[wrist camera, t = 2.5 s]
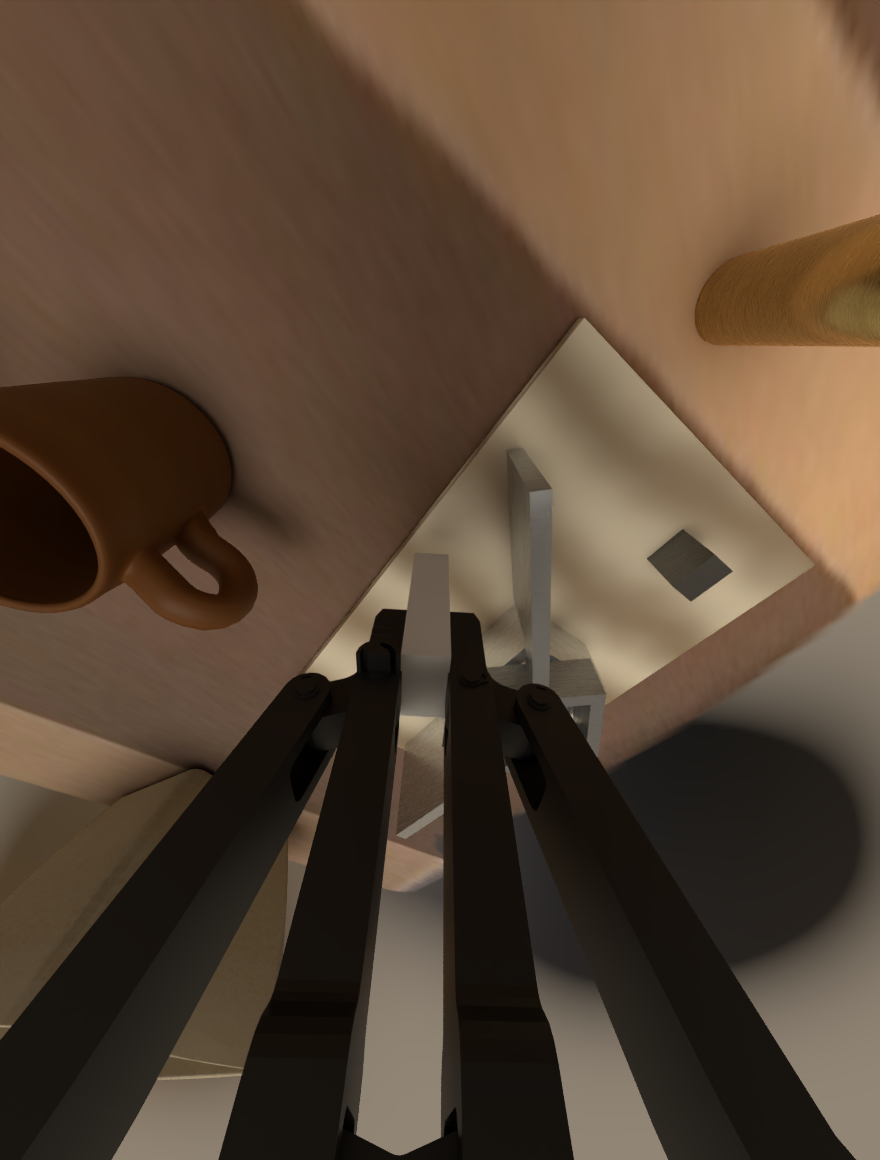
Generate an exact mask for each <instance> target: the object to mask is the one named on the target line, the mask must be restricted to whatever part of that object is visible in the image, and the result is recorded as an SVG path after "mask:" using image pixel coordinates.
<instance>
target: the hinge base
mask: <svg viewBox="0 0 880 1160" xmlns="http://www.w3.org/2000/svg"><path fill="white" fill-rule="evenodd" d="M647 560H648V561H649V562H650V563H651V564H652V565H653V566H654V567H655V568H656V569H657V570H658V571H659V573H660V574H661V575H662V576H663V577H664V578H665V579H666V580H667V581H668V582H669V583H670V584H671V585H672V587H674V588H675V589H676V590H677V591H678V592H680V593H681V594H682V595H683V596H684V597H686V598H687V599H688V600H689V601H690V602H692V601H693V600H694V599H696V598H697V597H698V596H700V595H701V594H703V593H704V592H705V591H707V590H708V589H709V588H711V587H712V586H714V585H715V584H716V583H718V582H719V581H720V580H722V579H723V578H725V577H726V576H727V575H729V574H730V573H731V572H733V571H732V570H731V569H730V568H729V567H728V566H727V565H726V564H725V563H724V562H723V561H722V560H720V559H719V558H718V557H717V556H716V555H715V554H714V553H713V552H711V551H710V550H709V549H708V548H706V547H705V546H704V545H702V544H701V543H700V542H699V541H697V540H696V539H695V538H694V537H692V536H691V535H690V534H688V533H687V532H686V531H685V530H683V529H682V530H681V531H680V532H678V533H677V534H676V535H675V536H673V537H672V538H671V539H670V540H669V541H667V542H666V543H665V544H664V545H663V546H661V547H660V548H659V549H658V550H657V551H655V552H654V553H653V554H652V555H651V556H649V557H648V558H647ZM482 640H483V646H484V653H485V660H486V667H498V666H508V665H519V664H522V663H523V662H524V661H525V640H524V637H523V633H522V629H521V625H520V621H519V617H518V614H517V610H516V606H515V604H514V605H513V606H512V607H511V608H510V609H509V610H508V611H507V612H506V613H505V614H503V615H502V616H501V617H500V618H499V619H498V620H497V621H496V622H495V623H494V624H493V625H492V626H491V627H490V628H489V629H487V630H486V631H485V632H484V633H483V634H482ZM585 658H590V659H591V662H592V664H593V666H594V668H595V670H596V673H597V675H598V677H599V679H600V681H601V684H602V686H603V688H604V690H605V691H607V690H606V688H605V685H604V683H603V681H602V679H601V677H600V675H599V672H598V670H597V668H596V666H595V664H594V662H593V659H592V657H591V655H590V653H589V651H588V649H587V646H586V645H585V644H584V643H583V642H581V641H580V640H578V639H577V638H575V637H574V636H572V635H571V634H569V633H568V632H566V631H565V630H563V629H562V628H560V627H559V626H557V625H556V624H554V623H553V622H551V621H550V662H552V661H563V660H574V659H585ZM573 707H574V706H570V707H566V709H567V710H568V712H569V713H570V715H572V714H573ZM444 724H445V718H440V717H436V718H435V719H434V720H433V721H432V722H431V723H429V724H428V725H427V726H426V727H425V728H424V729H422V730H421V731H420V732H419V733H418V734H417V735H415V736H414V737H413V738H412V739H411V740H410V741H408V742H407V743H406V744H405V752H404V762H403V771H402V781H401V791H400V801H399V810H398V820H397V830H396V836H399V837H402V838H405V839H406V838H408V837H409V836H411V835H412V834H414V833H415V832H417V831H418V830H420V829H421V828H423V827H424V826H426V825H427V824H429V823H430V822H432V821H433V820H435V819H436V818H438V817H439V816H441V815H442V814H444V747H442V742H443V733H444Z"/></svg>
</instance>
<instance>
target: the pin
mask: <svg viewBox="0 0 880 1160" xmlns="http://www.w3.org/2000/svg"><path fill="white" fill-rule="evenodd" d="M695 323H696V328H697V330H698V333H699V334H700V336H701V337H702V338H703V339H704V340H705V341H706V342H708V343H710V344H713V345H741V346H846V347H880V215H876V216H873V217H870V218H866V219H863V220H859V221H856V222H853V223H849V224H846V225H843V226H839V227H836V228H832V229H829V230H826V231H822V232H819V233H816V234H812V235H809V236H805V237H802V238H799V239H795V240H792V241H788V242H785V243H782V244H778V245H775V246H772V247H768V248H765V249H761V250H758V251H755V252H751V253H748V254H745V255H741V256H738V257H736V258H733V259H732V260H730V261H728V262H727V263H725V264H724V265H722V266H721V267H720V268H719V269H718V270H717V271H716V272H715V273H714V274H713V275H712V276H711V277H710V279H709V280H708V281H707V283H706V284H705V286H704V288H703V290H702V292H701V294H700V296H699V299H698V302H697V306H696V311H695Z"/></svg>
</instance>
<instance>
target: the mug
mask: <svg viewBox="0 0 880 1160" xmlns="http://www.w3.org/2000/svg"><path fill="white" fill-rule="evenodd" d="M231 479H232V474H231V465H230V460H229V456H228V453H227V450H226V448H225V445H224V443H223V441H222V439H221V437H220V436H219V434H218V432H217V431H216V429H215V428H214V426H213V425H212V424H211V422H210V421H209V420H208V419H207V418H206V417H205V415H204V414H203V413H202V412H201V411H199V410H198V409H197V408H196V407H195V406H194V405H193V404H192V403H190V402H189V401H188V400H187V399H185V398H184V397H182V396H181V395H179V394H178V393H176V392H175V391H173V390H171V389H169V388H167V387H165V386H162V385H160V384H157V383H154V382H151V381H147V380H143V379H138V378H129V377H109V378H97V379H88V380H77V381H63V382H51V383H40V384H31V385H21V386H11V387H1V388H0V605H2V606H6V607H10V608H14V609H18V610H23V611H29V612H39V613H56V612H64V611H69V610H73V609H77V608H80V607H83V606H85V605H87V604H89V603H91V602H92V601H94V600H95V599H97V598H99V597H100V596H101V595H103V594H104V593H106V592H108V591H110V590H111V589H113V588H115V587H117V586H119V585H120V584H122V583H126V584H127V585H128V586H129V587H131V588H132V589H133V590H134V591H135V592H136V593H137V594H138V596H139V597H140V598H141V599H142V600H143V601H144V602H145V603H146V604H147V605H148V606H149V607H151V609H152V610H153V611H154V612H155V613H156V614H158V615H160V616H161V617H163V618H164V619H166V620H169V621H171V622H174V623H176V624H179V625H181V626H185V627H189V628H194V629H199V630H212V629H221V628H226V627H228V626H230V625H232V624H235V623H237V622H239V621H240V620H242V619H243V618H244V617H245V616H246V615H247V614H248V613H249V612H250V611H251V610H252V608H253V605H254V603H255V601H256V598H257V592H258V584H257V579H256V575H255V572H254V570H253V568H252V566H251V564H250V563H249V562H248V560H247V559H246V557H245V556H244V555H243V554H242V553H241V552H240V551H239V550H237V549H236V548H235V547H234V546H232V545H231V544H230V543H228V542H227V541H225V540H224V539H223V538H221V537H220V536H219V535H218V534H217V532H216V530H215V529H214V528H213V527H212V525H211V524H210V522H209V521H208V519H210V518H211V517H212V516H213V515H214V514H215V513H216V512H217V511H218V510H219V509H220V508H221V507H222V505H223V504H224V502H225V501H226V499H227V496H228V494H229V491H230V487H231ZM174 545H176V546H177V547H178V549H179V550H180V552H181V553H182V554H183V555H184V556H185V557H186V558H187V559H189V560H190V561H191V562H192V563H194V564H195V565H197V566H198V567H200V568H201V569H203V570H205V571H206V572H208V573H209V574H211V575H212V576H213V577H214V578H215V579H216V581H217V582H218V584H219V593H218V594H217V595H215V594H209V593H205V592H203V591H200V590H197V589H196V588H195V587H193V586H192V585H191V584H190V583H189V582H188V581H187V580H186V579H185V578H184V577H183V576H182V575H181V574H180V573H179V572H178V571H177V570H176V569H175V568H174V567H173V566H172V565H171V564H170V563H169V562H168V561H167V560H166V559H165V558H164V557H163V556H162V554H163V553H165V552H166V551H167V550H169V549H170V548H171V547H173V546H174Z"/></svg>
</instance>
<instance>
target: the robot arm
mask: <svg viewBox="0 0 880 1160" xmlns="http://www.w3.org/2000/svg"><path fill="white" fill-rule="evenodd" d="M356 665H357V672H356V673H355V674H353V675H351V676H349V677H347V678H343V679H339V680H334V681H329V680H328V679H327V678H326V676H324V675H321V674H319V673H305V674H301V675H298V676H296V677H294V678H293V679H291V680H290V681H289V682H288V683H287V684H286V685H285V686H284V688H283V689H282V690H281V691H280V693H279V694H278V695H277V696H276V698H275V699H274V700H273V701H272V703H271V704H270V705H269V706H268V708H267V709H266V710H265V711H264V712H263V714H262V715H261V716H260V717H259V719H258V720H257V721H256V722H255V724H254V725H253V726H252V727H251V729H250V730H249V731H248V732H247V734H246V735H245V736H244V737H243V739H242V740H241V741H240V742H239V744H238V745H237V746H236V747H235V749H234V750H233V751H232V752H231V754H230V755H229V756H228V757H227V759H226V760H225V761H224V762H223V763H222V765H221V766H220V767H219V768H218V770H217V771H216V772H215V773H214V775H213V776H212V777H211V778H210V780H209V781H208V782H207V783H206V785H205V786H204V787H203V788H202V790H201V791H200V792H199V793H198V795H197V796H196V797H195V798H194V800H193V801H192V802H191V803H190V805H189V806H188V807H187V808H186V810H185V811H184V812H183V813H182V815H181V816H180V817H179V818H178V819H177V821H176V822H175V823H174V824H173V826H172V827H171V828H170V829H169V831H168V832H167V833H166V834H165V836H164V837H163V838H162V839H161V841H160V842H159V843H158V844H157V846H156V847H155V848H154V849H153V851H152V852H151V853H150V854H149V856H148V857H147V858H146V859H145V861H144V862H143V863H142V864H141V866H140V867H139V868H138V869H137V870H136V872H135V873H134V874H133V875H132V877H131V878H130V879H129V880H128V882H127V883H126V884H125V885H124V887H123V888H122V889H121V890H120V892H119V893H118V894H117V895H116V897H115V898H114V899H113V900H112V902H111V903H110V904H109V905H108V907H107V908H106V909H105V910H104V912H103V913H102V914H101V915H100V917H99V918H98V919H97V920H96V922H95V923H94V924H93V925H92V926H91V928H90V929H89V930H88V931H87V933H86V934H85V935H84V936H83V938H82V939H81V940H80V941H79V943H78V944H77V945H76V946H75V948H74V949H73V950H72V951H71V953H70V954H69V955H68V956H67V958H66V959H65V960H64V961H63V963H62V964H61V965H60V966H59V968H58V969H57V970H56V971H55V973H54V974H53V975H52V976H51V977H50V979H49V980H48V981H47V982H46V984H45V985H44V986H43V987H42V989H41V990H40V991H39V992H38V994H37V995H36V996H35V997H34V999H33V1000H32V1001H31V1002H30V1004H29V1005H28V1006H27V1007H26V1009H25V1010H24V1011H23V1012H22V1014H21V1015H20V1016H19V1017H18V1019H17V1020H16V1021H15V1022H14V1024H13V1025H12V1026H11V1027H10V1029H9V1030H8V1031H7V1032H6V1033H5V1035H4V1036H3V1037H2V1038H1V1040H0V1160H111V1159H112V1158H113V1156H114V1154H115V1153H116V1151H117V1149H118V1147H119V1146H120V1144H121V1142H122V1141H123V1139H124V1137H125V1135H126V1134H127V1132H128V1130H129V1129H130V1127H131V1125H132V1123H133V1122H134V1120H135V1118H136V1117H137V1115H138V1113H139V1111H140V1109H141V1107H142V1106H143V1104H144V1102H145V1100H146V1098H147V1096H148V1094H149V1093H150V1091H151V1089H152V1087H153V1085H154V1083H155V1082H156V1080H157V1078H158V1076H159V1074H160V1072H161V1071H162V1069H163V1067H164V1065H165V1063H166V1061H167V1060H168V1058H169V1056H170V1054H171V1052H172V1050H173V1048H174V1047H175V1045H176V1043H177V1041H178V1039H179V1037H180V1036H181V1034H182V1032H183V1030H184V1028H185V1026H186V1025H187V1023H188V1021H189V1019H190V1017H191V1015H192V1013H193V1012H194V1010H195V1008H196V1006H197V1004H198V1002H199V1001H200V999H201V997H202V995H203V993H204V991H205V990H206V988H207V986H208V984H209V982H210V980H211V978H212V977H213V975H214V973H215V971H216V969H217V967H218V966H219V964H220V962H221V960H222V958H223V956H224V955H225V953H226V951H227V949H228V947H229V945H230V943H231V942H232V940H233V938H234V936H235V934H236V932H237V931H238V929H239V927H240V925H241V923H242V921H243V919H244V918H245V916H246V914H247V912H248V910H249V908H250V907H251V905H252V903H253V901H254V899H255V897H256V896H257V894H258V892H259V890H260V888H261V886H262V884H263V883H264V881H265V879H266V877H267V875H268V873H269V872H270V870H271V868H272V866H273V864H274V862H275V861H276V859H277V857H278V855H279V853H280V851H281V849H282V848H283V846H284V844H285V842H286V840H287V838H288V837H289V835H290V833H291V831H292V829H293V827H294V826H295V824H296V822H297V820H298V818H299V816H300V814H301V813H302V811H303V809H304V807H305V805H306V803H307V802H308V800H309V798H310V796H311V794H312V792H313V791H314V789H315V787H316V785H317V783H318V781H319V779H320V778H321V776H322V774H323V772H324V770H325V768H326V767H327V765H328V763H329V761H330V759H331V757H332V756H333V754H334V752H335V749H336V748H337V752H336V755H335V759H334V763H333V767H332V771H331V775H330V778H329V782H328V786H327V790H326V794H325V797H324V801H323V805H322V809H321V813H320V817H319V820H318V824H317V828H316V832H315V836H314V840H313V843H312V847H311V851H310V855H309V859H308V862H307V866H306V870H305V874H304V878H303V882H302V885H301V889H300V893H299V897H298V901H297V905H296V908H295V912H294V916H293V920H292V924H291V928H290V931H289V936H288V939H287V943H286V947H285V951H284V954H283V958H282V962H281V966H280V970H279V973H278V977H277V981H276V984H275V988H274V991H273V994H272V996H271V999H270V1001H269V1003H268V1005H267V1006H266V1008H265V1010H264V1011H263V1013H262V1015H261V1017H260V1019H259V1022H258V1024H257V1027H256V1030H255V1032H254V1035H253V1038H252V1041H251V1045H250V1048H249V1051H248V1055H247V1058H246V1061H245V1065H244V1069H243V1072H242V1076H241V1080H240V1083H239V1087H238V1091H237V1094H236V1098H235V1101H234V1105H233V1109H232V1112H231V1116H230V1120H229V1123H228V1127H227V1131H226V1134H225V1138H224V1141H223V1145H222V1149H221V1152H220V1156H219V1160H574V1157H573V1151H572V1145H571V1138H570V1132H569V1126H568V1120H567V1113H566V1108H565V1101H564V1095H563V1089H562V1082H561V1076H560V1070H559V1064H558V1059H557V1053H556V1048H555V1043H554V1039H553V1035H552V1032H551V1028H550V1024H549V1022H548V1020H547V1018H546V1015H545V1013H544V1011H543V1009H542V1006H541V1003H540V999H539V994H538V988H537V982H536V975H535V969H534V961H533V955H532V948H531V941H530V934H529V928H528V921H527V914H526V907H525V900H524V893H523V887H522V880H521V873H520V866H519V859H518V852H517V846H516V839H515V832H514V825H513V818H512V811H511V805H510V798H509V791H508V784H507V777H506V771H505V764H504V759H505V761H506V764H507V766H508V768H509V771H510V773H511V776H512V778H513V781H514V783H515V786H516V788H517V791H518V793H519V796H520V798H521V801H522V803H523V805H524V808H525V810H526V813H527V815H528V818H529V820H530V823H531V825H532V827H533V830H534V833H535V835H536V838H537V840H538V842H539V845H540V847H541V850H542V852H543V855H544V857H545V860H546V862H547V864H548V867H549V869H550V872H551V874H552V877H553V879H554V882H555V884H556V887H557V889H558V892H559V894H560V897H561V899H562V901H563V904H564V907H565V909H566V911H567V914H568V916H569V919H570V921H571V924H572V926H573V929H574V931H575V934H576V936H577V939H578V941H579V944H580V946H581V949H582V951H583V953H584V956H585V958H586V961H587V963H588V966H589V968H590V971H591V973H592V976H593V978H594V981H595V983H596V986H597V988H598V991H599V993H600V996H601V998H602V1000H603V1003H604V1005H605V1008H606V1010H607V1013H608V1015H609V1018H610V1020H611V1023H612V1025H613V1028H614V1030H615V1033H616V1035H617V1037H618V1040H619V1042H620V1045H621V1047H622V1050H623V1052H624V1055H625V1057H626V1059H627V1062H628V1064H629V1067H630V1069H631V1072H632V1074H633V1077H634V1079H635V1082H636V1084H637V1087H638V1089H639V1092H640V1094H641V1097H642V1099H643V1101H644V1104H645V1107H646V1109H647V1111H648V1114H649V1116H650V1119H651V1121H652V1124H653V1126H654V1128H655V1130H656V1133H657V1135H658V1138H659V1140H660V1142H661V1144H662V1147H663V1149H664V1151H665V1153H666V1155H667V1158H668V1160H856V1159H855V1158H854V1157H853V1156H852V1154H851V1153H850V1152H849V1151H848V1150H847V1149H846V1147H845V1146H844V1145H843V1144H842V1143H841V1142H840V1140H838V1138H837V1137H836V1136H835V1134H834V1133H833V1131H832V1129H831V1128H830V1126H829V1125H828V1123H827V1122H826V1120H825V1118H824V1117H823V1115H822V1114H821V1112H820V1110H819V1109H818V1107H817V1106H816V1104H815V1102H814V1101H813V1099H812V1098H811V1096H810V1094H809V1093H808V1091H807V1090H806V1088H805V1087H804V1085H803V1083H802V1082H801V1080H800V1079H799V1077H798V1075H797V1074H796V1072H795V1071H794V1069H793V1067H792V1066H791V1064H790V1063H789V1061H788V1060H787V1058H786V1056H785V1055H784V1053H783V1052H782V1050H781V1048H780V1047H779V1045H778V1044H777V1042H776V1040H775V1039H774V1037H773V1036H772V1034H771V1033H770V1031H769V1029H768V1028H767V1026H766V1025H765V1023H764V1021H763V1020H762V1018H761V1017H760V1015H759V1013H758V1012H757V1010H756V1009H755V1007H754V1006H753V1004H752V1002H751V1001H750V999H749V998H748V996H747V995H746V993H745V991H744V990H743V988H742V986H741V985H740V983H739V982H738V980H737V979H736V977H735V975H734V974H733V972H732V971H731V969H730V967H729V966H728V964H727V963H726V961H725V959H724V958H723V956H722V955H721V953H720V952H719V950H718V948H717V947H716V945H715V944H714V942H713V940H712V939H711V937H710V936H709V934H708V933H707V931H706V929H705V928H704V926H703V925H702V923H701V921H700V920H699V918H698V917H697V915H696V914H695V912H694V910H693V909H692V907H691V906H690V904H689V902H688V901H687V899H686V898H685V896H684V894H683V893H682V891H681V890H680V888H679V886H678V885H677V883H676V882H675V880H674V879H673V877H672V875H671V874H670V872H669V871H668V869H667V867H666V866H665V864H664V863H663V861H662V860H661V858H660V856H659V855H658V853H657V851H656V850H655V848H654V847H653V845H652V844H651V842H650V840H649V839H648V837H647V836H646V835H645V832H644V831H643V829H642V828H641V826H640V824H639V823H638V821H637V820H636V818H635V817H634V815H633V813H632V812H631V810H630V809H629V807H628V805H627V804H626V802H625V801H624V799H623V798H622V796H621V794H620V793H619V791H618V790H617V788H616V786H615V785H614V783H613V782H612V780H611V778H610V777H609V775H608V774H607V772H606V770H605V769H604V767H603V766H602V764H601V763H600V761H599V759H598V758H597V756H596V755H595V753H594V751H593V750H592V748H591V747H590V745H589V743H588V742H587V740H586V739H585V737H584V736H583V734H582V732H581V731H580V729H579V728H578V726H577V724H576V723H575V721H574V720H573V718H572V716H571V715H570V713H569V712H568V710H567V709H566V707H565V705H564V704H563V702H562V701H561V699H560V697H559V696H558V695H557V694H556V693H555V692H554V691H553V690H552V689H550V688H548V687H547V686H544V685H541V684H538V683H529V684H526V685H523V686H522V687H521V688H520V689H519V690H515V689H512V688H509V687H506V686H504V685H501V684H499V683H498V682H496V681H495V680H494V679H493V678H492V677H491V676H490V674H489V673H488V671H487V667H486V660H485V653H484V646H483V640H482V633H481V624H480V621H479V619H478V618H477V617H476V615H475V614H474V613H466V612H450V594H449V558H448V555H445V554H430V553H415V555H414V563H413V570H412V577H411V584H410V592H409V599H408V606H407V610H400V609H382V610H381V611H380V612H379V613H378V614H377V615H376V616H375V620H374V624H373V628H372V632H371V636H370V640H369V642H366V643H364V644H363V645H361V646H360V647H359V648H358V650H357V652H356ZM400 716H420V717H440V718H445V724H444V733H443V742H442V747H444V883H443V885H444V887H443V888H444V889H443V892H444V893H443V899H444V900H443V901H444V903H443V905H444V906H443V909H444V911H443V916H444V917H443V920H444V921H443V923H444V924H443V925H444V927H443V928H444V929H443V931H444V933H443V934H444V935H443V938H444V939H443V941H444V942H443V951H444V952H443V953H444V955H443V959H444V961H443V965H444V966H443V977H444V978H443V984H444V985H443V995H444V997H443V1014H444V1015H443V1052H442V1054H443V1055H442V1076H441V1077H442V1078H441V1138H439V1139H437V1140H435V1141H433V1142H431V1143H429V1144H427V1145H424V1146H422V1147H420V1148H418V1149H416V1150H414V1151H411V1152H409V1153H407V1154H404V1155H400V1156H399V1155H394V1154H391V1153H389V1152H388V1151H386V1150H384V1149H382V1148H380V1147H378V1146H376V1145H374V1144H372V1143H370V1142H368V1141H366V1140H364V1139H362V1138H361V1137H358V1136H357V1135H356V1131H357V1121H358V1112H359V1103H360V1094H361V1084H362V1074H363V1062H364V1047H365V1033H366V1024H367V1014H368V1005H369V997H370V988H371V979H372V970H373V960H374V952H375V943H376V934H377V924H378V915H379V906H380V898H381V889H382V880H383V871H384V862H385V853H386V844H387V835H388V826H389V817H390V808H391V799H392V790H393V781H394V772H395V763H396V754H397V745H398V736H399V719H400ZM503 755H504V757H503Z"/></svg>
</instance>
